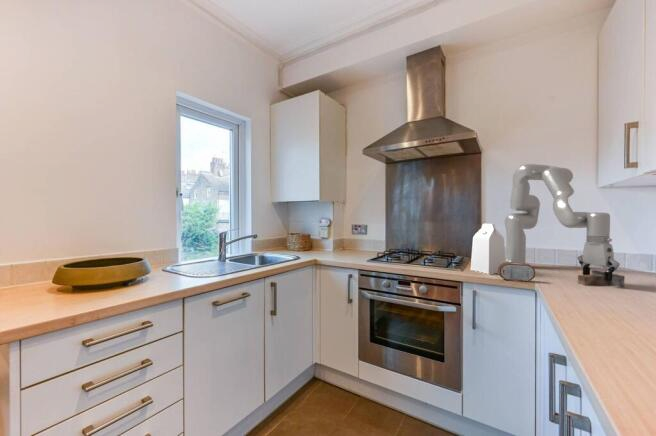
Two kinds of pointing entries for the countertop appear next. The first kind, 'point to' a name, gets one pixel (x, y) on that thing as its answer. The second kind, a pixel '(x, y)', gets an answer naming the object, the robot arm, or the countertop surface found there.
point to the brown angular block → (600, 279)
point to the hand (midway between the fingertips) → (596, 278)
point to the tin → (516, 271)
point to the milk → (487, 250)
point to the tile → (590, 272)
